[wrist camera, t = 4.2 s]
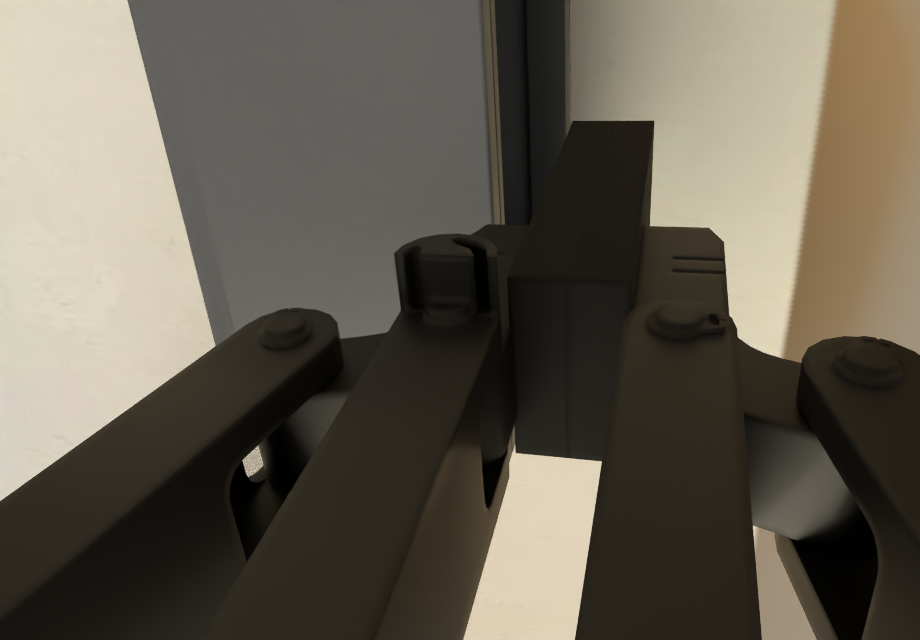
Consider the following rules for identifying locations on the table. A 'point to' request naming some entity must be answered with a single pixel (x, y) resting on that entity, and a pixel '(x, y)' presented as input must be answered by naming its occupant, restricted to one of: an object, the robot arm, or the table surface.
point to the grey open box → (348, 138)
